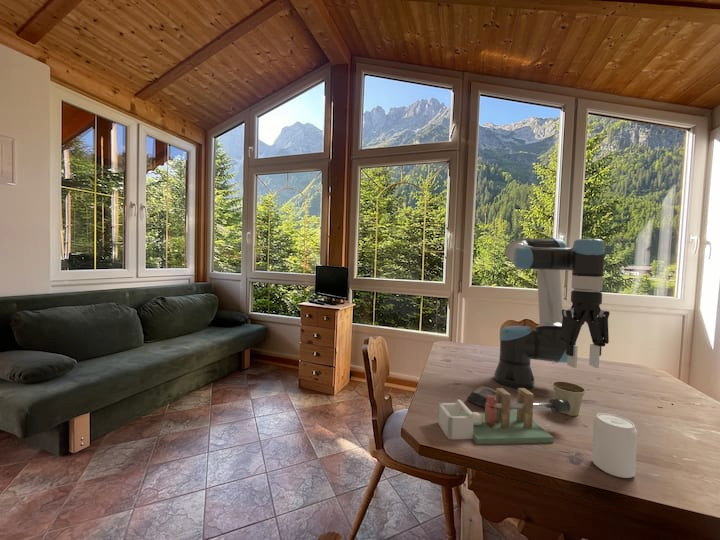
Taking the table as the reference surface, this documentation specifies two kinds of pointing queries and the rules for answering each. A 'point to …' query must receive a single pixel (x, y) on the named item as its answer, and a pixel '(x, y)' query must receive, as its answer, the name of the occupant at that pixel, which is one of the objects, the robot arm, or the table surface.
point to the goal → (455, 420)
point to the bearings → (522, 414)
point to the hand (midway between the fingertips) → (582, 366)
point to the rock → (481, 395)
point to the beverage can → (614, 445)
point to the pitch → (509, 432)
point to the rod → (553, 404)
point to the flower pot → (569, 395)
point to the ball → (477, 419)
